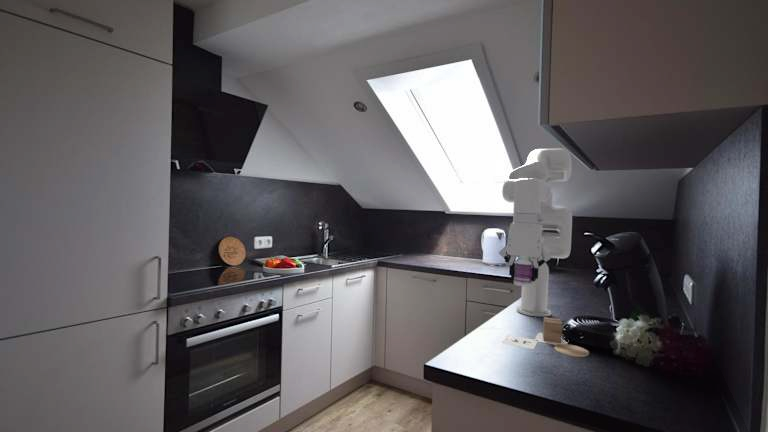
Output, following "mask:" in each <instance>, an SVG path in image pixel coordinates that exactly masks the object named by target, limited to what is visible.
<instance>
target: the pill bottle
mask: <svg viewBox="0 0 768 432" xmlns="http://www.w3.org/2000/svg"><path fill="white" fill-rule="evenodd" d="M530 259H531V258H528V257H524V256H520V257H517V258H516V260H515V262H514V263H515V270H514V279H513V284H514V285H515V286H519V287H522V286H532V282H533V281H532V268H533V261H532V260H530Z"/></svg>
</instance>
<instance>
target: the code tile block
mask: <svg viewBox="0 0 768 432" xmlns="http://www.w3.org/2000/svg"><path fill="white" fill-rule="evenodd" d="M535 340H538V342H537V343H539V342H540V343H544V344H548V345H554V346H555V345H558V344H568V343H569V341H568V342H566V341H565V340H563V339H562V340H561V343H556V342H549V341H544V340H543V332H538V333H537V334H536V336H535V338H534V341H535Z"/></svg>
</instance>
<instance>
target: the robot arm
mask: <svg viewBox="0 0 768 432" xmlns="http://www.w3.org/2000/svg"><path fill="white" fill-rule="evenodd" d="M572 167H573V166H572V158H571V153H570V152H569V150H567V149H565V148H563V147H562V148H561V147H558V148H557V147H555V148H553V147H552V148H550V147H549V148H537V149H534V150H532V151H531V152H530V153H529V154H528V156H527V159H526V162H525V164H524V165H522V166H519V167H517V168H515V169H513V170H511V171H510V172H509V173H508V174H507V175H506V178H505V180H504V183H503V186H502V190H501V191H502V197H503V199H504V200H505V201H506V202H508V203H513V213H512V215H513V216H512V217H513V218H512V223H510V225H509V228H508V229H509V231H508V236H507V241H506V242H507V243H506V245H505V246H503V247H502V248H501V250H499V252H498V254H499V255H500V256H501V257H502V258H503V259H504V260H505V261H506V263H507V265H509V271H508V273H509V274H508V276H510V279H511V280H512V279H513V280H514V270H515V261H516V260H517V259H518V257H520V256H524V257H528V258H531V259H530V260H532V261H533V268H532V281H533V282H532V286H521V296H520V297H521V299H520V305H518V306H516V312H518V313H520V314H523V315H526V316H531V317H539V318H540V317H543V318H544V317H550V316H551V315H552V310H550V309H548V296H549V295H548V293H549V292H548V291H549V278H550V277H549V275H550V269H549V266H548V264H547V263H546V262H548V261H549V260H551V259H566V258H568V257H570V254H571V249H572V236H573V235H572V234H573V233H572V231H573V230H572V229H573V215H572V210H571V209H570V207H567V206H564V205H553V193H552V191H551V190H552V189H551V188H552V187H551V186H550V184H549V183H548V182H550V183H553V182H554V183H560V182H561V183H563V182H567V181H569V180H570V178H571V176H572V173H573V172H572V171H573V169H572ZM544 230H547V231H557V232H547V231H545V232H544Z"/></svg>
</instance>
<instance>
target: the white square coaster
mask: <svg viewBox="0 0 768 432" xmlns="http://www.w3.org/2000/svg"><path fill="white" fill-rule="evenodd" d="M511 335H512V334H507V336H505V338H504V339H503V340H502V342H501V344H504V345H510V346H516V347H521V348H525V349H528V350H534V349H535V347H536V345H537V343H539V342H538V340H535V338H534V339H533V338H527V337H522V336H519V335H513V336H515V337H516V336H517V337H518V338H517V337H516V338H514V337H513V336H512V337H513V339H512V338H511V339H509V338H508V337H510V336H511ZM534 340H535V341H534Z"/></svg>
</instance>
